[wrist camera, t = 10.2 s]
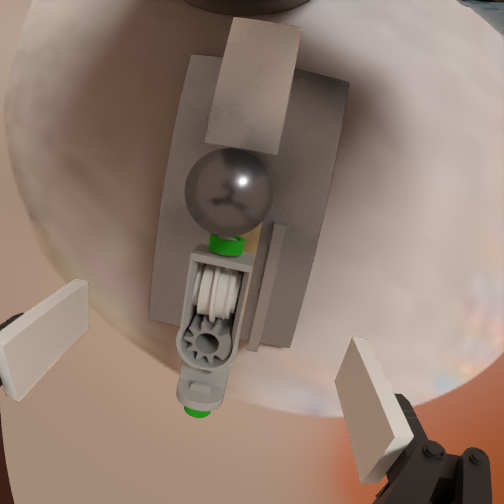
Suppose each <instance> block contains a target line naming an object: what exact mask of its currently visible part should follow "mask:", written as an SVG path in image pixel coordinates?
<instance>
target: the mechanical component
mask: <svg viewBox="0 0 504 504" xmlns="http://www.w3.org/2000/svg"><path fill="white" fill-rule="evenodd" d="M244 244H245V239H244V238H242V237H240V236H232V237H226V236H219V235H215V234H213V233H210V238H209V244H205V243H202V244H201V245H198V246H197V247H196V248H195V249H194V250H193V251H192V253H191V257H190V263H189V270H188V276H187V283H186V290H185V297H184V304H183V312H182V319H181V327H180V329H179V331H178V333H177V336H176V348H177V351H178V353H179V355H180V357H181V358H182V364H181V372H180V379H179V382H178V385H177V398H178V400H179V401H180V403H182V404H183V405H184V409H185V411H186V413H187V414H189V415H190V416H193V417H196V418H203V417H206V416H208V415H209V414H210V412H211V411H212V410H215V409H217V408H219V407H220V406H221V404H222V402H223V397H224V392H225V387H226V383H227V378H228V374H229V369H230V365H231V364H232V362H233V361H234V360H235V358H236V356H237V352H238V345H239V338H240V331H241V324H242V314H243V310H244V305H245V301H246V296H247V292H248V287H249V283H250V278H251V273H252V269H253V262H254V254H253V253H248V252H243V249H244Z"/></svg>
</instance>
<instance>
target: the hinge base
mask: <svg viewBox="0 0 504 504" xmlns="http://www.w3.org/2000/svg"><path fill="white" fill-rule="evenodd" d="M301 33H302V28H301V27H296V26H291V25H286V24H280V23H274V22H268V21H262V20H255V19H247V18H239V17H234V18H233V22H232V25H231V29H230V33H229V37H228V41H227V45H226V49H225V53H224V57H214V56H204V55H191V57H190V61H189V65H188V69H187V73H186V77H185V81H184V85H183V89H182V93H181V98H180V102H179V107H178V111H177V116H176V121H175V125H174V130H173V135H172V141H171V146H170V151H169V157H168V162H167V168H166V174H165V180H164V186H163V192H162V199H161V206H160V213H159V220H158V227H157V235H156V244H155V252H154V262H153V271H152V282H151V294H150V306H149V319H150V320H154V321H158V322H162V323H166V324H170V325H175V326H179V327H181V319H182V312H183V304H184V297H185V290H186V283H187V276H188V270H189V263H190V257H191V253H192V251H193V250H194V249H195V248H196V247H197V246H198V245H201V244H202V243H205V244H209V238H210V233H213V234H215V235H219V236H226V237H232V236H240V237H242V238H244V239H245V244H244V249H243V252H248V253H253V254H254V262H253V269H252V273H251V278H250V283H249V287H248V292H247V296H246V301H245V305H244V310H243V314H242V324H241V331H240V338H239V339H241V340H246V341H248V347H247V350H249V351H254V352H257V351H258V347H259V343H263V344H269V345H274V346H281V347H287V348H290V345H291V342H292V338H293V335H294V331H295V328H296V324H297V320H298V317H299V313H300V309H301V306H302V302H303V298H304V295H305V291H306V287H307V283H308V279H309V275H310V271H311V267H312V263H313V259H314V255H315V251H316V247H317V243H318V239H319V234H320V230H321V226H322V221H323V217H324V213H325V208H326V204H327V199H328V194H329V190H330V185H331V180H332V175H333V170H334V165H335V160H336V155H337V150H338V145H339V140H340V134H341V129H342V123H343V118H344V112H345V106H346V100H347V94H348V88H349V83H348V82H345V81H341V80H337V79H334V78H330V77H326V76H322V75H318V74H314V73H310V72H305V71H301V70H296V69H295V64H296V59H297V53H298V48H299V43H300V38H301Z"/></svg>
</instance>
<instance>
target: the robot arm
mask: <svg viewBox="0 0 504 504" xmlns="http://www.w3.org/2000/svg"><path fill="white" fill-rule="evenodd" d="M185 1H186V2H188V3H190V4H192V5H194V6H196V7H199V8H201V9H204V10H208V11H211V12H216V13H221V14H229V15H262V14H269V13H275V12H280V11H283V10H287V9H290V8H293V7H296V6H298V5H301V4H303V3H305V2H307V1H309V0H185ZM457 1H458V2H459V3H461V4H462V5H464V6H467V7H470V8H471V9H472V10H474V11H475V12H476V13H477V14H478V15H480V16H481V17H482V18H483V19H484V20H486V21H487V22H488V23H489V24H490V25H491V26H492V27H493V28H494V29H496V30H497V31H498V32H499V33H500V34H501V35H502V36H503V37H504V0H457ZM88 330H89V307H88V281H84V280H81V279H77V278H76V279H74V280H72V281H71V282H69V283H68V284H66V285H65V286H63V287H62V288H61V289H59V290H58V291H56V292H55V293H53V294H52V295H50V296H49V297H47V298H46V299H44V300H43V301H41V302H40V303H39V304H37V305H36V306H34V307H33V308H31V309H30V310H29V311H27V312H26V313H20V314H17V315H14V316H12V317H11V318H10V319H8V320H7V321H6V322H4V323H3V324H1V325H0V386H1V385H3V388H4V391H5V394H6V396H8V397H10V398H11V399H13V400H15V401H16V402H18V403H20V401H21V400H22V399H23V398H24V397H25V396H26V395H27V394H28V393H29V391H30V390H31V389H32V388H33V387H34V386H35V385H36V384H37V383H38V382H39V380H40V379H41V378H42V377H43V376H44V375H45V374H46V373H47V372H48V371H49V370H50V369H51V368H52V367H53V365H55V363H57V361H58V360H59V359H60V358H61V357H62V356H63V355H64V354H65V353H66V352H67V351H68V350H69V349H70V348H71V347H72V346H73V345H74V344H75V343H76V342H77V341H78V340H79V339H80V338H81V337H82V335H84V333H86V332H87V331H88ZM335 384H336V388H337V392H338V396H339V399H340V403H341V407H342V411H343V414H344V418H345V422H346V426H347V430H348V433H349V438H350V442H351V446H352V450H353V454H354V458H355V462H356V466H357V470H358V475H359V478H360V483H361V484H368V483H379V482H380V481H381V479H382V478H383V477H384V476H385V475H387V479H388V483H387V484H386V485H385V486H384V487H383V489H382V490H381V491H380V492H379V493H378V494H377V495H376V497H377V498H376V499H375V501H374V502H373V504H492V490H491V489H492V487H491V472H490V461H489V458H488V456H487V455H486V453H485V452H484V451H482V450H481V449H478V448H474V447H470V448H468V449H466V450H465V451H464V453H463V454H462V455H461V456H457V455H451V454H446V451H445V449H444V448H443V447H442V446H441V445H440V444H438V443H437V442H435V441H431V440H428V438H427V436H426V434H425V432H424V430H423V428H422V426H421V424H420V422H419V420H418V418H417V416H416V414H415V412H413V408H412V406H411V404H410V402H409V401H408V400H407V399H406V398H405V397H404V396H403V395H402V394H394V393H393V391H392V388H391V386H390V384H389V382H388V380H387V378H386V376H385V374H384V372H383V370H382V368H381V366H380V364H379V362H378V360H377V358H376V356H375V354H374V353H373V351H372V349H371V347H370V345H369V343H368V341H367V339H365V338H357V337H352V339H351V341H350V344H349V347H348V349H347V352H346V355H345V357H344V360H343V362H342V365H341V367H340V370H339V372H338V375H337V377H336V379H335ZM0 504H14V500H13V496H12V492H11V487H10V483H9V477H8V472H7V466H6V460H5V453H4V445H3V438H2V427H1V415H0Z"/></svg>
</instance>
